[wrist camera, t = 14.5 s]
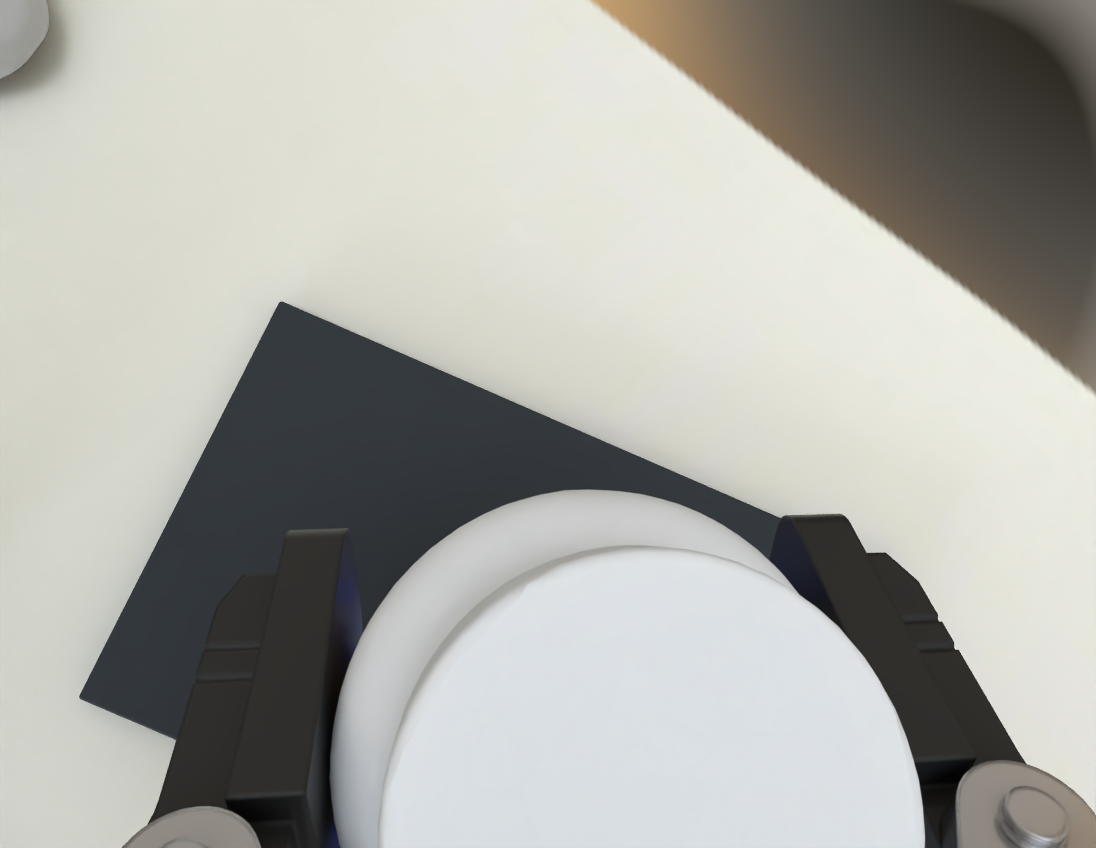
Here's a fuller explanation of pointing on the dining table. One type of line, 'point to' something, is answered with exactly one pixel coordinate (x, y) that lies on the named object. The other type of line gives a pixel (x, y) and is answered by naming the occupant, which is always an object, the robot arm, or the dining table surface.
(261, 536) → the rubber mat
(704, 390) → the dining table surface
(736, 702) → the pill bottle
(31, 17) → the grey rounded pointed piece
